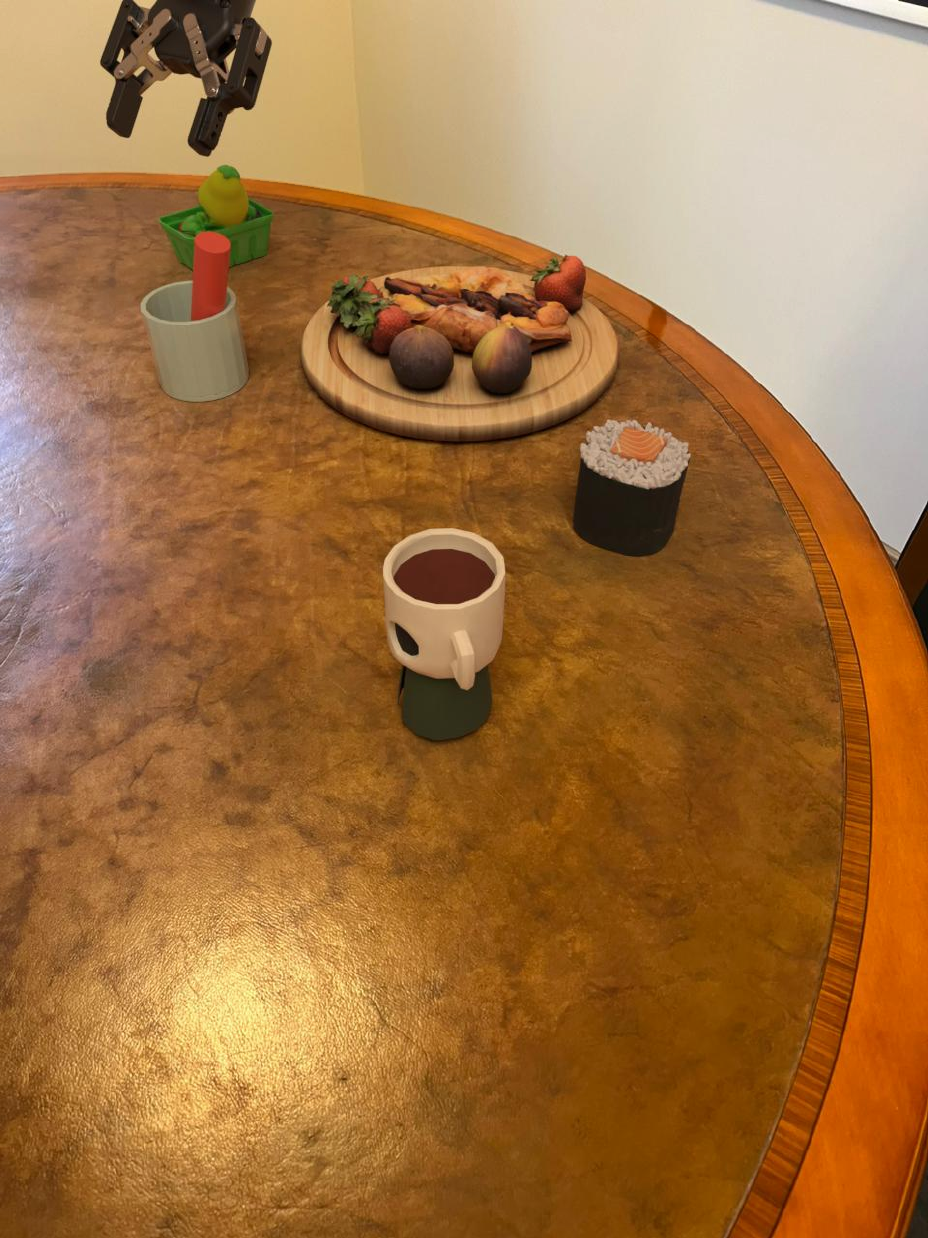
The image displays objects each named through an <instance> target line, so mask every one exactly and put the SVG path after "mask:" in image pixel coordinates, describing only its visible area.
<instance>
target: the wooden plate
mask: <svg viewBox="0 0 928 1238" xmlns="http://www.w3.org/2000/svg"><path fill="white" fill-rule="evenodd" d="M549 261H551V262H550V263H549V262H546V261H544V264H545V265H546V266H545V268H543V269H541V270H540V269H535V268H533V271H535V272H537V273H536V274H534V275H530V274H527V273H522V272H518V271H513V270H507V269H502V268H500V267H494V266H489V267H487V266H485V265H477V266H469V265H468V266H467V265H466V266H464V265H447V266H445V265H443V266H431V267H430V266H429V267H421V268H420V267H419V268H412V269H406V270H401V271H397V272H391V273H388V274H385V275H381V276H377V277H374V278H371V279H369V278H370V275H364V276H363V277H360V276H359V275H357V274H355V273H353V274H351V275H348V276H345V277H343V278H342V279H340V280H339V281H338V280H335V283H334V284H333V286H331V287H330V288H331V295H330V297H328V300H327V301H326V302H325V303H323V305H322V306H321V307H319V309H318V310H316V312H315V313H314V314H313V315H312V317H311V318H310V319H309V320H308V323H307V325H306V327H305V328H304V330H303V332H302V335H301V339H300V345H299V356H300V363H301V366H302V370H303V372H304V375H305V377H306V379H307V381H308V382H309V384H310V386H311V387H312V388H313V389H314V391H315V392H316V393H317V394H318V396H319V397H320V398H322V399H323V400H324V401H325V402H326V403H327V404H328V405H329V406H331V407H332V408H334V409H335V410H336V411H338V412H340V413H341V414H343V415H344V416H346V417H349V418H350V419H353V420H355V421H356V422H359V423H361V424H364V425H366V426H368V427H371V428H373V429H376V430H378V431H382V432H383V431H384V432H386V433H390V434H394V435H397V436H403V437H407V438H408V437H409V438H412V439H413V438H414V439H420V440H430V441H436V442H438V441H439V442H458V443H459V442H481V441H482V442H483V441H485V442H486V441H494V440H499V439H508V438H513V437H514V438H515V437H518V436H522V435H527V434H532V433H535V432H538V431H541V430H544V429H547V428H550V427H553V426H556V425H558V424H560V423H562V422H566V421H567V420H569V419H571V418H573V417H575V416H577V415H579V414H580V413H583V411H585V410H586V409H587V408H589V407H590V406H591V405H593V403H595V402H596V401H597V400H598V399H599V398H600V397H601V396H602V395H603V394H604V393H605V391H606V390H607V389H608V388H609V386H610V385H611V384H612V381H613V380H614V378H615V376H616V374H617V371H618V368H619V363H620V355H621V354H620V344H619V340H618V337H617V333H616V331H615V329H614V327H613V326H612V325H611V322H610V321H609V319H608V318H607V317H606V316H605V315H604V313H602V311H600V310H599V308H598V307H597V306H596V305H594V304H593V303H592V302H591V301H589V300H587V299H586V298H584V297H583V296H584V290H585V286H586V281H587V270H586V267H585V264H584V262H583V261H582V260H581V258H579V257H578V256H577V255H567V254H564V255H563V257H562V259H561V261H559V259H558V258H557V255H555V257H554V258H549Z"/></svg>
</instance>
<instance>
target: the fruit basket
mask: <svg viewBox="0 0 928 1238" xmlns="http://www.w3.org/2000/svg"><path fill="white" fill-rule="evenodd" d="M197 201H198V203H199V204H200V205H198V206H194V207H191V208H187V209H184V210H180V211H177V212H174V213H170V214H167V215H163V216H160V217H159V218H158V219H157V221H158V223H159V225H160V227H161V229H162V230H163V231H164V233H165V235H166V237H167V238H168V241H169V243H170V245H171V247H172V249H173V251H174V253H175V255H176V257H177V259H178V261H179V263H180V264H183V265H185V267H187V268H189V269H190V270H191V271H193V263H194V243H195V237H196V236H197V235H198V234H199V233H202V232H216V233H219V234H221V235H223V236H225V237H226V238H227V239H228V240H229V241H230V244H231V249H230V260H229V268H232V267H234V266H237V265H241V264H244V263H247V262H250V261H251V260H255V259H259V258H262V257H265V256H267V253H268V247H269V241H270V234H271V226H272V223H273V220H274V215H275V212H274V211H273V210H270V209H268V208H267V207H266V206H264V205H262V204H260V203H259V202H258V201H255V200H254V199H251V198H250V197H249V196H248V192H247V189H246V187H245V186H244V184H243V183H242V182H241V175H240V173H239V170H237V169H236V168H235V167H234V166H232V165H227V164H222V165H219V166H218V167H217V168H216V169H215V170H214V171H213V172H212V173H211V174H210V175H208V177H207V178H206V179H205V180H204V181H203V183H201V184H200V186H199V188H198V190H197Z"/></svg>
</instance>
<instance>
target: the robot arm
mask: <svg viewBox="0 0 928 1238" xmlns="http://www.w3.org/2000/svg"><path fill="white" fill-rule="evenodd" d="M256 1H257V0H155V2H154V3H153V5H152V6H151V7H150V8H147V7H144V6H140V5H138V4H137V2H136V1H135V0H122V1H121V3H120V5H119V8H118V10H117V14H116V16H115V19H114V22H113V24H112V27H111V29H110V33H109V34H108V35H109V36H108V37H107V41H106V44H105V46H104V48H103V51H102V55H101V57H100V60H99V63H100V67H101V68H103V69H104V70H105V71H106V72H107V73H108V74H110V75H111V76H112V78H114V83H115V84H114V87H113V91H112V93H111V97H110V99H109V103H108V106H107V109H106V112H105V120H106V125H107V128H108V129H109V130H111V131H112V132H113V133H115V134H116V135H117V136H119V137H120V138H125V139H129V138H131V136H132V133H133V130H134V128H135V124H136V121H137V119H138V118H137V117H138V115H139V111H140V109H141V106H142V103H143V99H144V97H143V96H142V95H143V94H144V93H145V92H146V91H147V90H148V89H149V88H150V87H152V85H153V84H154V83H155V82H157V81H158V82H163V81H165V80H166V79H167V78H168V77H169V76H171V74H174V75H175V74H176V75H179V76H181V75H191V76H192V77H194V78H196V79H201V82H202V86H203V89H204V90H203V91H204V94H205V96H206V98H205V97H204V98H203V97H200V99H199V102H198V104H197V105H198V106H197V108H196V112H195V115H194V118H193V120H192V124H191V126H190V130H189V133H188V136H187V145H188V146H189V147H190V149H192V150H193V151H194V152H195V153H196V154H197V155H198V156H202V157H207V158H208V157H210V156H211V155H212V152H213V151H214V150H215V149H216V147H218V145H219V142H220V138H221V135H222V133H223V129H224V127H225V124H226V120H227V119H228V116H229V115H230V114H232V113H234V111H235V110H237V109H241V108H242V109H244V110H245V111H252V110H253V109H254V108H255V106H256V103H257V99H258V96H259V92H260V88H261V85H262V82H263V78H264V74H265V71H266V67H267V63H268V59H269V56H270V52H271V49H272V45H273V40H272V38H271V37H270V36H269V34H267V32H266V31H265V30H264V28H263V27H262V26H261V25H260V23H258V22H257V20H256V19H255V18H254V17H252V14H253V11H254V7H255V4H256ZM152 49H154V53H155V56H156V57H157V59H158V60H156V59H155V58H154V57H152V56H151V55H150V54H149V53H150V51H151V50H152ZM121 51H123V55H122V59H121V61H119V60H118V58H119V56H120V53H121ZM233 52H234V54H233V58H232V61H231V65H230V69H229V65H228V61H227V58H228V57H229V56H230V55H231V54H232V53H233ZM141 67H144V69H143V70H142V71H141V72H139V74H138V75H135V73H136V72H137V71H138V70H139V69H140V68H141Z"/></svg>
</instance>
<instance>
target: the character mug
mask: <svg viewBox="0 0 928 1238" xmlns="http://www.w3.org/2000/svg"><path fill="white" fill-rule="evenodd" d="M506 579H507V577H506V566H505V560H504V555H503V554H502V553H501V552H500V551H499V549H497V547H496V545H494V543H493V542H491V541H490V540H488V539H485V537H482V536H480V535H479V534H477V533H475V532H472V531H467V530H462V529H458V528H454V527H448V528H447V527H445V528H443V527H442V528H429V529H426V530H422V531H419V532H416V533H412V534H410V535H408V536H407V537H405V538H404V539H402V540H400V541H399V542H397V543H396V544H395V545H394V546H393V547H392V548H391V550H390V551H389V553H388V554H387V555H386V557H385V558H384V563H383V566H382V581H383V582H382V583H383V584H382V585H383V594H384V595H383V596H384V597H383V598H384V613H385V614H384V616H385V628H386V638H387V644H388V649H389V650H390V653H391V654H392V656H393V658H394V659H395V660H397V662H398V663H400V664H401V665H402V666H401V670H400V678H399V683H398V694H397V707H398V708H399V707H400V698H401V695H402V700H401V701H402V702H401V721H402V723H403V724H404V725H405V726H406V727H408V728H409V729H410V731H412V732H413V733H414V734H415V735H417V736H420V737H424V738H426V739H429V740H432V741H435V742H436V741H445V740H453V739H458V738H460V737H463V736H465V735H467V734H469V733H472V732H474V731H477V730H478V729H479V728H480V727H481V726H482V725H483V724H484V723H485V722H486V721H487V720H488V719H489V718H490V714H491V711H492V705H493V697H492V683H491V678H490V671H489V664H490V663H491V662H493V661H494V659H495V657H496V655H497V653H498V651H499V649H500V647H501V643H502V641H503V630H504V615H505V614H504V613H505V597H506V583H507V581H506Z"/></svg>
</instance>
